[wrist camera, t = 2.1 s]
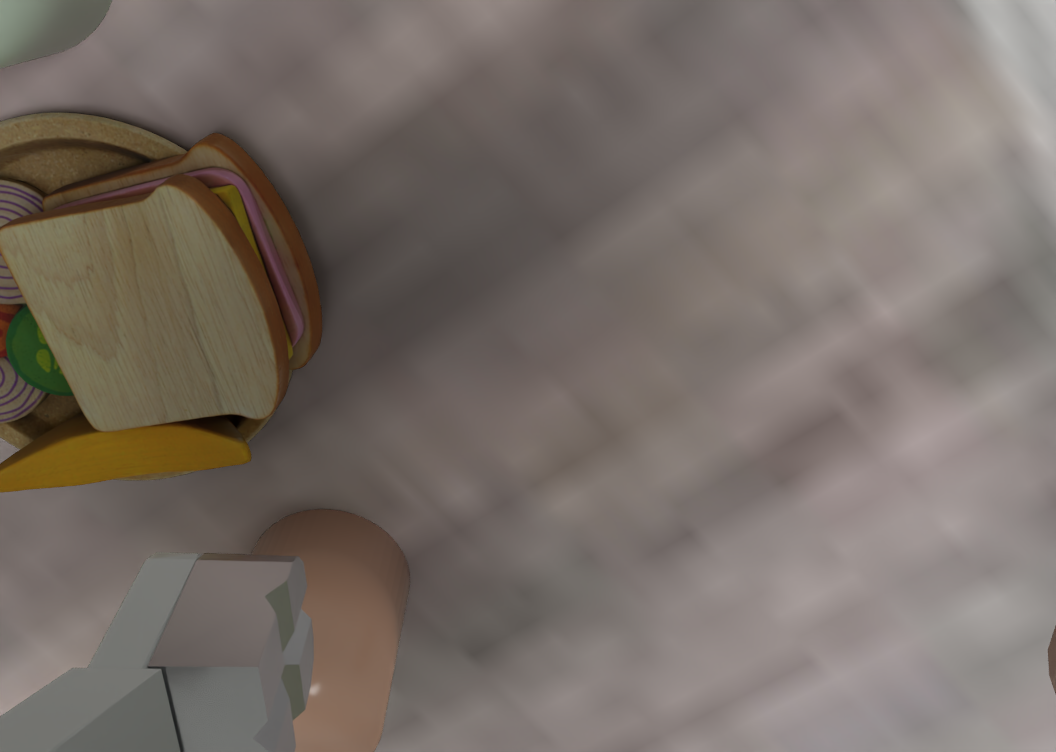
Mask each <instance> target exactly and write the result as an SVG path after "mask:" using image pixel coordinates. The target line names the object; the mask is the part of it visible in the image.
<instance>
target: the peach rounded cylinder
mask: <svg viewBox="0 0 1056 752" xmlns="http://www.w3.org/2000/svg"><path fill="white" fill-rule="evenodd" d="M251 555H278V556H299V557H300V559H301V560H302V561H303V563H304V569H305V575H306V581H307V589H306V593H305V596H304V600H303V604H302V607H301V609H302V610H303V611H304V612H305V613H306V614H307V615H308V616H309V617H310V618H311V619H312V628H313V637H314V661H313V670H312V679H311V687H310V692H309V696H308V700H307V704H306V709H305V710H304V711H303V712H302V713H301V714H300V715H299V716H298V717H297V718H295V719H294V720H293V727H294V734H295V742H296V748H295V752H374V751H375V749H376V747H377V745H378V743H379V741H380V738H381V735H382V731H383V725H384V720H385V715H386V710H387V704H388V699H389V694H390V689H391V683H392V678H393V673H394V668H395V662H396V657H397V652H398V647H399V641H400V636H401V631H402V626H403V620H404V615H405V610H406V605H407V599H408V594H409V588H410V572H409V567H408V564H407V561H406V558H405V556H404V554H403V552H402V550H401V549H400V547H399V546H398V545H397V543H396V542H395V541H394V540H393V538H392V537H391V536H390V535H389V534H388V533H386V532H385V531H384V530H383V529H381V528H380V527H379V526H377V525H376V524H374V523H372V522H371V521H369V520H367V519H365V518H363V517H360V516H357V515H354V514H352V513H348V512H343V511H338V510H330V509H317V510H307V511H303V512H298V513H295V514H292V515H289V516H287V517H285V518H283V519H281V520H279V521H278V522H276V523H275V524H273V525H272V526H271V527H270V528H269V529H267V530H266V531H265V532H264V534H263V535H262V536H261V537H260V539H259V540H258V542H257V544H256V546H255V548H254V550H253V552H252V554H251Z"/></svg>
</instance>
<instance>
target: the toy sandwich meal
mask: <svg viewBox="0 0 1056 752" xmlns="http://www.w3.org/2000/svg"><path fill="white" fill-rule="evenodd" d="M321 335H322V312H321V305H320V297H319V291H318V286H317V282H316V279H315V275H314V271H313V267H312V264H311V261H310V258H309V256H308V253H307V251H306V248H305V245H304V243H303V241H302V238H301V236H300V234H299V232H298V229H297V227H296V225H295V223H294V222H293V220H292V218H291V216H290V214H289V212H288V210H287V208H286V206H285V205H284V203H283V201H282V200H281V198H280V196H279V195H278V193H277V192H276V190H275V189H274V187H273V185H272V184H271V183H270V181H269V180H268V179H267V177H266V176H265V174H264V173H263V171H262V170H261V169H260V168H259V167H258V165H257V164H256V163H255V162H254V161H253V159H252V158H251V157H250V156H249V155H248V154H247V153H246V152H245V151H244V150H243V149H242V148H241V147H240V146H239V145H237V144H236V143H235V142H234V141H233V140H231V139H230V138H228V137H226V136H224V135H221V134H218V133H213V134H210V135H208V136H207V137H205V138H204V139H202V140H200V141H199V142H198V143H196V144H195V145H194V146H193V147H192V148H191V149H190V150H189V151H188V152H187V151H186V150H184V149H183V148H181V147H179V146H178V145H176V144H174V143H172V142H170V141H168V140H166V139H164V138H162V137H160V136H158V135H156V134H153V133H151V132H149V131H146V130H144V129H141V128H139V127H136V126H132V125H129V124H126V123H123V122H120V121H116V120H112V119H108V118H103V117H98V116H93V115H85V114H75V113H40V114H31V115H25V116H20V117H16V118H12V119H8V120H4V121H1V122H0V437H1V438H2V439H4V440H5V441H7V442H9V443H10V444H12V445H13V446H15V447H16V448H18V449H20V450H19V451H18V452H16V453H15V454H13V455H12V456H11V457H9V458H8V459H6V460H5V461H3V462H2V463H1V464H0V492H12V491H21V490H28V489H40V488H53V487H65V486H76V485H84V484H90V483H95V482H101V481H106V480H111V479H115V480H156V479H164V478H171V477H175V476H180V475H185V474H188V473H192V472H195V471H198V470H207V469H214V468H220V467H225V466H233V465H240V464H245V463H248V462H249V461H251V452H250V449H249V446H248V444H247V442H249V441H250V440H251V439H252V438H253V437H254V436H255V435H256V434H257V433H258V432H259V431H260V430H261V429H262V428H263V427H264V426H265V424H266V423H267V422H268V421H269V419H270V418H271V417H272V415H273V414H274V412H275V410H276V409H277V407H278V406H279V404H280V402H281V401H282V399H283V398H284V396H285V394H286V390H287V387H288V384H289V381H290V378H291V375H292V371H293V370H294V369H299V368H301V367H303V366H305V365H306V364H307V362H308V361H309V360H310V359H311V357H312V356H313V355H314V353H315V352H316V350H317V349H318V347H319V345H320V341H321Z"/></svg>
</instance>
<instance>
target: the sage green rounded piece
mask: <svg viewBox="0 0 1056 752" xmlns="http://www.w3.org/2000/svg"><path fill="white" fill-rule="evenodd" d="M111 2H112V0H0V68H4V67H8V66H11V65H15V64H19V63H22V62H26V61H30V60H33V59H37V58H41V57H44V56H48V55H52V54H55V53H59V52H62V51H65V50H67V49H69V48H72V47H74V46H76V45H77V44H79V43H80V42H82V41H83V40H85V39H86V38H87V37H88V36H89V35H90V34H91V33H92V32H93V31H94V30H95V29H96V28H97V27H98V25H99V24H100V23H101V22H102V20H103V18H104V17H105V15H106V13H107V11H108V10H109V7H110V4H111Z"/></svg>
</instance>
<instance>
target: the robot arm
mask: <svg viewBox="0 0 1056 752" xmlns="http://www.w3.org/2000/svg"><path fill="white" fill-rule="evenodd" d="M306 589H307V581H306V575H305V569H304V563H303V561H302V560H301V559H300V557H299V556H278V555H247V554H216V553H204V554H192V553H155V554H153V555H152V556H151V557H149V558H148V559H147V560H146V561H145V562H144V563H143V565H142V567H141V569H140V571H139V573H138V575H137V576H136V578H135V580H134V582H133V584H132V586H131V588H130V589H129V591H128V593H127V595H126V597H125V599H124V601H123V602H122V604H121V606H120V608H119V610H118V612H117V614H116V616H115V617H114V619H113V621H112V623H111V625H110V627H109V629H108V630H107V632H106V634H105V636H104V638H103V640H102V642H101V643H100V645H99V647H98V649H97V651H96V653H95V655H94V656H93V658H92V660H91V662H90V664H89V666H88V668H72V669H70V670H69V671H67V672H66V673H64V674H63V675H61V676H60V677H58V678H57V679H55V680H54V681H52V682H51V683H49V684H48V685H46V686H45V687H43V688H42V689H40V690H39V691H37V692H36V693H34V694H33V695H31V696H30V697H28V698H27V699H26V700H24V701H23V702H21V703H20V704H18V705H17V706H15V707H14V708H12V709H11V710H9V711H8V712H6V713H5V714H3V715H2V716H0V752H295V748H296V742H295V734H294V727H293V720H294V719H295V718H297V717H298V716H299V715H300V714H301V713H302V712H303V711H304V710H305V709H306V704H307V700H308V696H309V692H310V687H311V679H312V670H313V661H314V637H313V628H312V619H311V618H310V617H309V616H308V615H307V614H306V613H305V612H304V611H303V610H302V609H301V607H302V604H303V600H304V596H305V593H306ZM1048 661H1049V676H1050V679H1051V682H1052V685H1053V688H1054V690H1055V693H1056V626H1055V629H1054V632H1053V635H1052V638H1051V642H1050V645H1049V648H1048Z"/></svg>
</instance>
